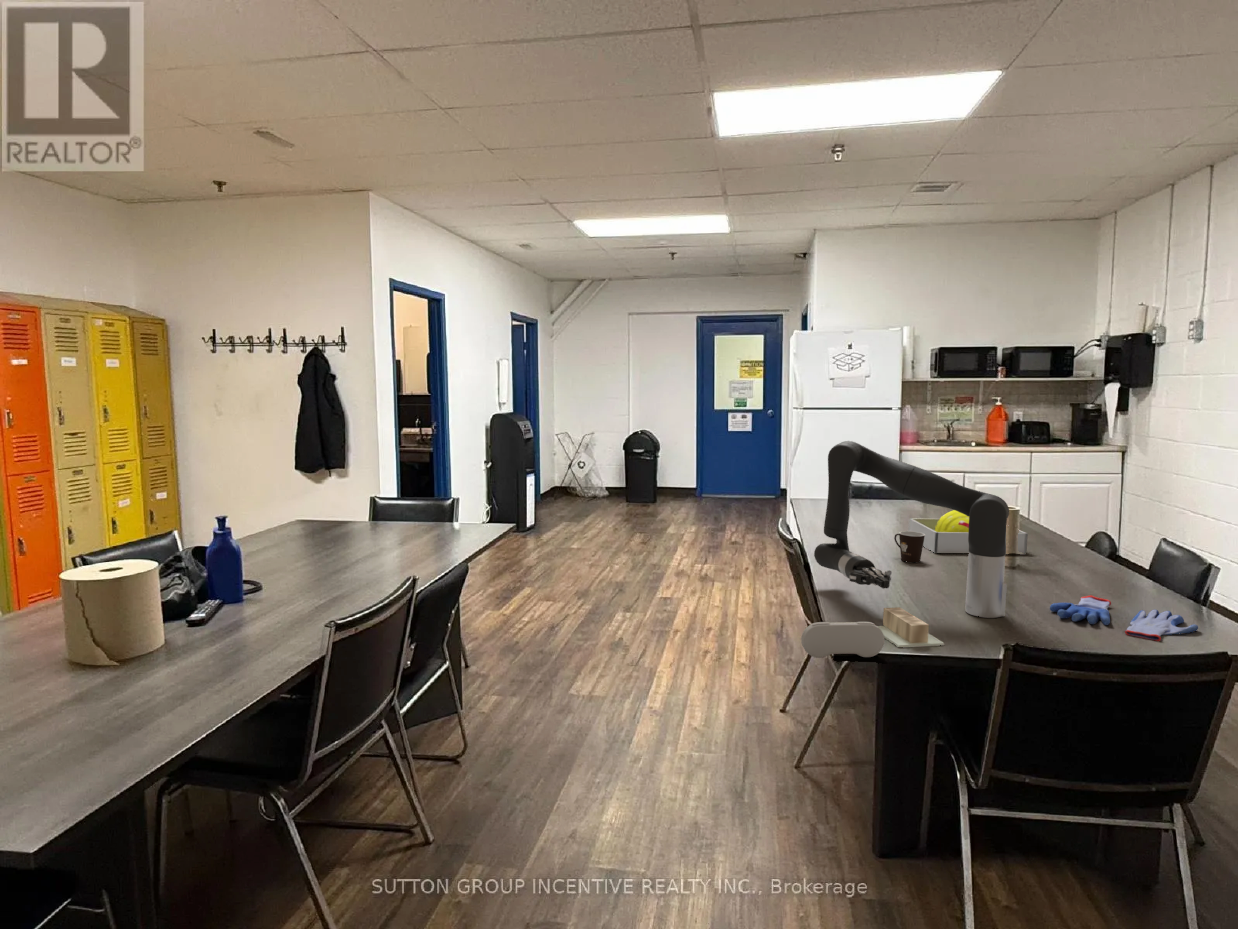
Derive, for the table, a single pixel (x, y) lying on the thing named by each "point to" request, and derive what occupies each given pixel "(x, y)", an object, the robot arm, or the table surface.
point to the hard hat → (953, 522)
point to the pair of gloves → (1140, 624)
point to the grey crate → (950, 537)
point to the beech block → (905, 625)
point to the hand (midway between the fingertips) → (886, 584)
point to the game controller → (842, 639)
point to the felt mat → (904, 643)
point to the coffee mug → (910, 545)
